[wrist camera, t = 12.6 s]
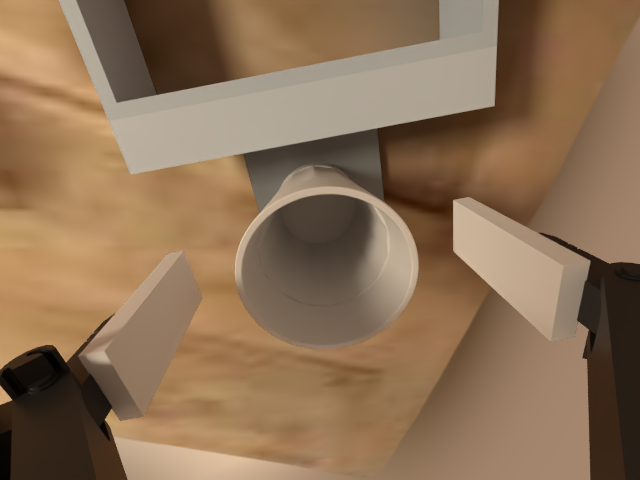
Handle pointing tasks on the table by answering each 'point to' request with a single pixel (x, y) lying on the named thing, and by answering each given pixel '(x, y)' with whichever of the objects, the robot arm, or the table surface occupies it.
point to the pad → (339, 151)
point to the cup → (325, 262)
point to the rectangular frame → (282, 89)
